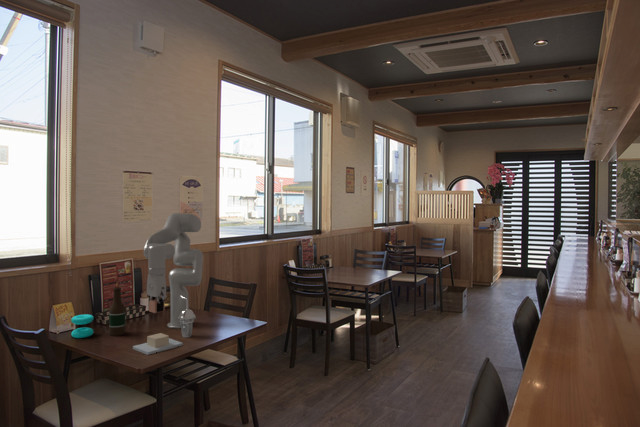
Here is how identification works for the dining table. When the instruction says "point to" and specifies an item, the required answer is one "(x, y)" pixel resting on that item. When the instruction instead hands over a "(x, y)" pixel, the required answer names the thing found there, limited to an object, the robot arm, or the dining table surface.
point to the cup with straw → (186, 320)
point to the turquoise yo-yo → (85, 330)
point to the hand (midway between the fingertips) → (156, 310)
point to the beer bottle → (117, 315)
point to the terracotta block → (154, 306)
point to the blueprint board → (153, 350)
